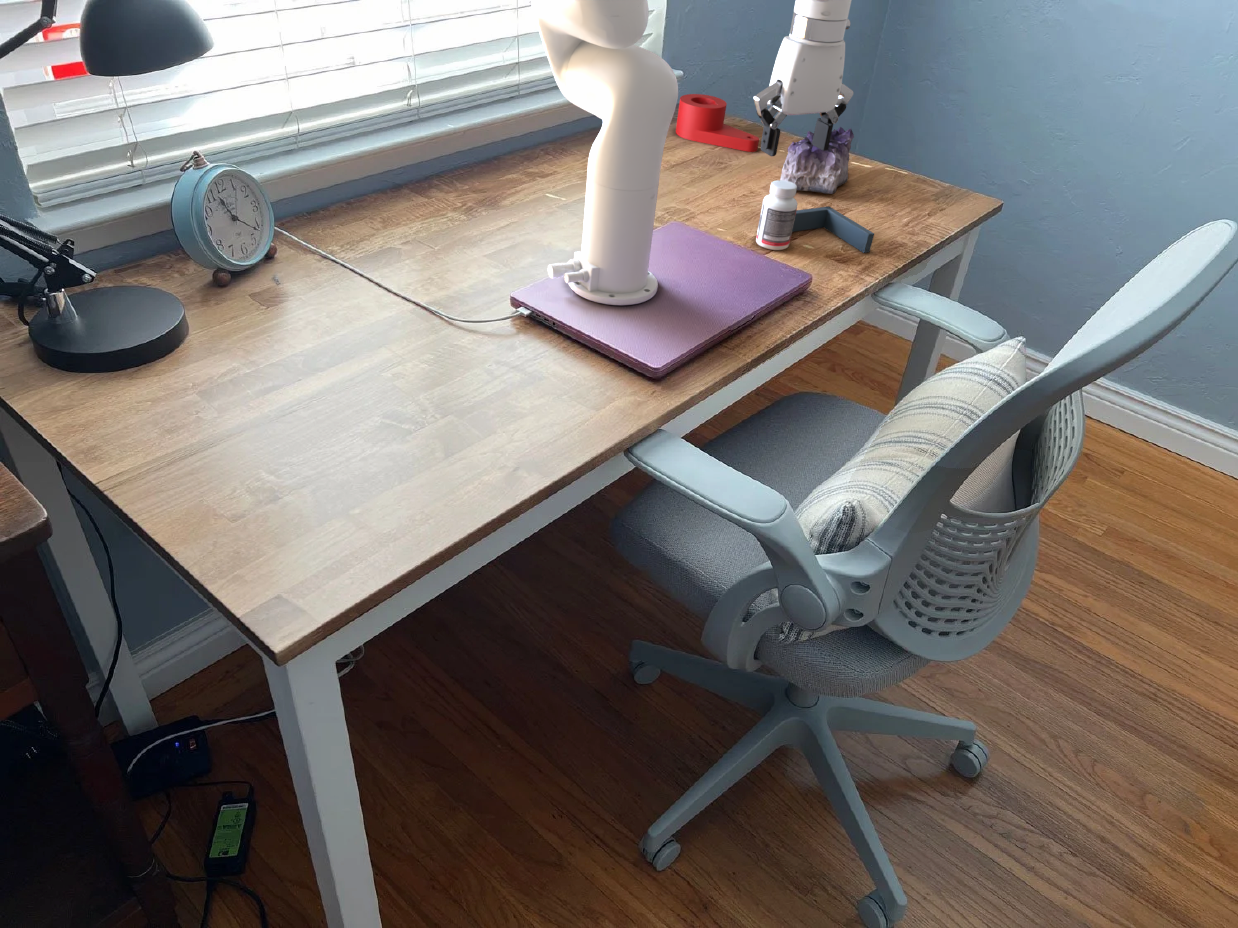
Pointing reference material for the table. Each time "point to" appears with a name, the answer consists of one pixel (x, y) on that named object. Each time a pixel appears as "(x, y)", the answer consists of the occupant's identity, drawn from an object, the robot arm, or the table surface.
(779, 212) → the pill bottle
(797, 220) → the corner
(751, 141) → the lever
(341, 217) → the table surface
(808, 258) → the table surface
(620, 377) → the table surface
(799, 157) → the geode
